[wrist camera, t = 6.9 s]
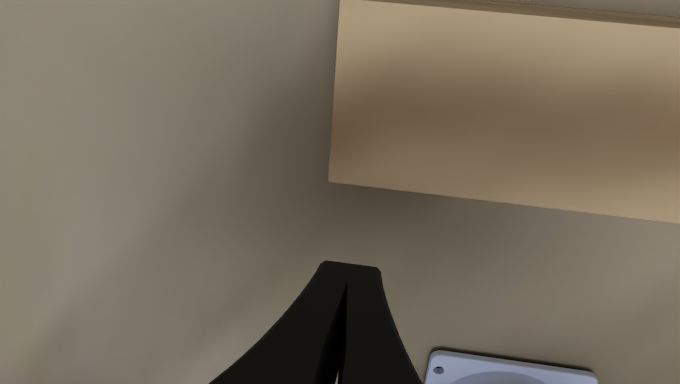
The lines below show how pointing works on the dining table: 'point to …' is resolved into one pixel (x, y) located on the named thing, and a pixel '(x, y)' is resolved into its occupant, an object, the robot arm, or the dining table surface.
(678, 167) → the oak plank
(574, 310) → the dining table surface
